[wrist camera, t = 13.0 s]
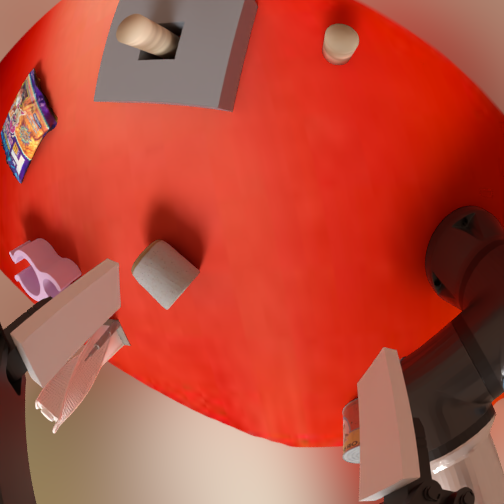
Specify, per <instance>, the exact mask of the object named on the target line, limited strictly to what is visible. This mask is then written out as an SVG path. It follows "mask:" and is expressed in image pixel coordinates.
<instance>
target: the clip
mask: <svg viewBox="0 0 504 504" xmlns="http://www.w3.org/2000/svg"><path fill="white" fill-rule="evenodd" d="M9 254H10V256H11V258H12V260H13V261H14V262H15V263H18V262H19V261H21V260H22V259H24V258H25V259H26V260H27V261H28V262H29V263H30V264H31V265H30V266H29V267H27V268H26V269H24V270H23V271H21V272H20V273H18V274H17V275H16V276H15V279H16V281H19V282H20V283H21V285H22V287H23V288H24V290H25V291H26V292H27V294H28V295H29V296H30V297H32V298H33V299H34V300H36V301H40V300H42V299H44V298H47V297H50V296H51V297H52V298H54V297H55V296H57V295H58V294H59V293H60V292H62V291H63V290H64V289H66V288H67V287H68V286H70V285H71V284H70V283H71V282H73V281H74V280H75V279H77V278H78V277H79V276H80V275H82V273H81V271H80V269H79V268H78V266H77V265H76V264H75V263H74V262H73V261H72V260H70V259H68V258H62V257H60V256H59V255H58V254H57V253H56V251H55V250H54V248H53V247H52V246H51V245H50V244H49V243H48V242H47V241H46V240H44V239H42V238H37V239H36V240H34V241H32V242H31V241H30V240H29V241H27V242H26V243H24V244H22V245H20V246H19V247H17V248H15V249H14V250H12V251H10V253H9Z"/></svg>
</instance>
